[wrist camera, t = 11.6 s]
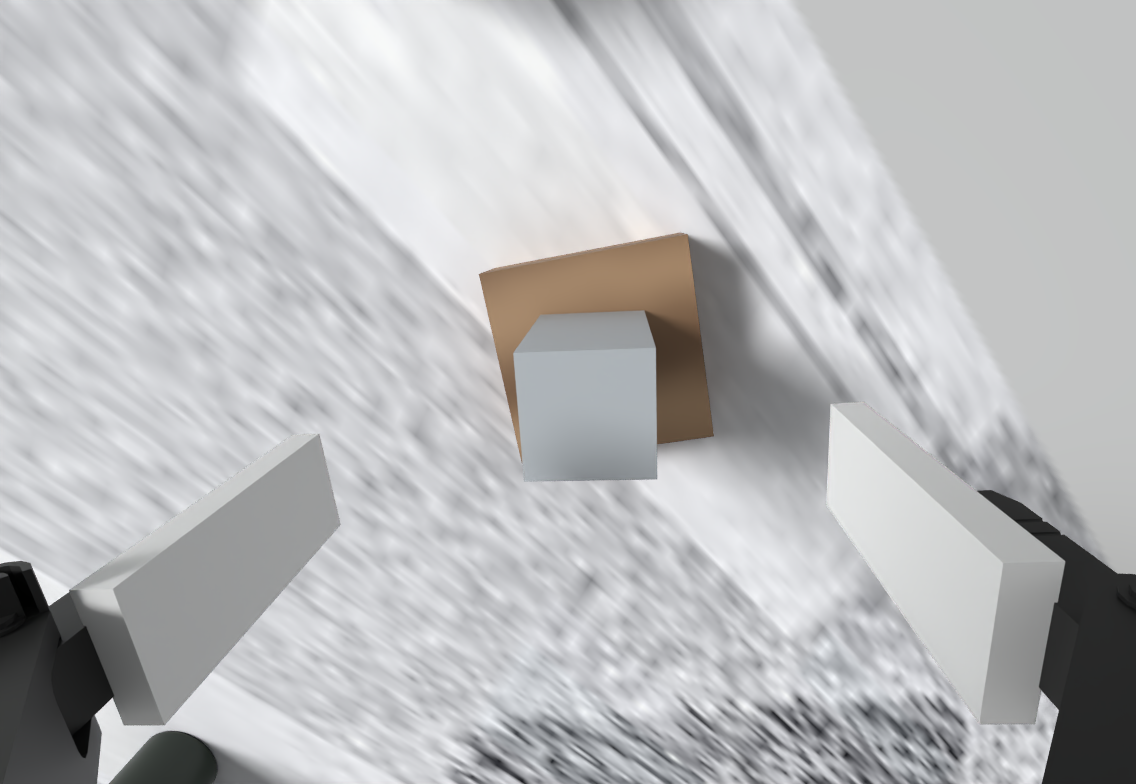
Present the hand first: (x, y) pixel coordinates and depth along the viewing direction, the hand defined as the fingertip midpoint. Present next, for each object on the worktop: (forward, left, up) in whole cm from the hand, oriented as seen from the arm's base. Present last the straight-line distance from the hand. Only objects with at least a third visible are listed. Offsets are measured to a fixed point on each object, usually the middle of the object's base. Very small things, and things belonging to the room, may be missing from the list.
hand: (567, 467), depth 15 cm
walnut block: (0, 0, -18) cm, 18 cm away
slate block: (+1, 0, -14) cm, 14 cm away
